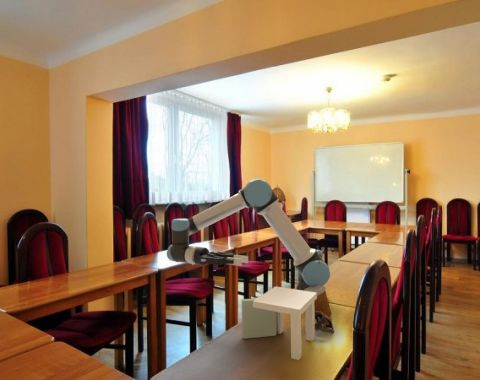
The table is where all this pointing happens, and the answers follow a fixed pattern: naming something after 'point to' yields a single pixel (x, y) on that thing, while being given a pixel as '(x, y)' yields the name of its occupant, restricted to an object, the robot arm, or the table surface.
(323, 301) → the disposable coffee cup
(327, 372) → the table surface
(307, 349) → the table surface
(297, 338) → the stool
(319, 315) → the brown curved piece
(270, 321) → the panel
